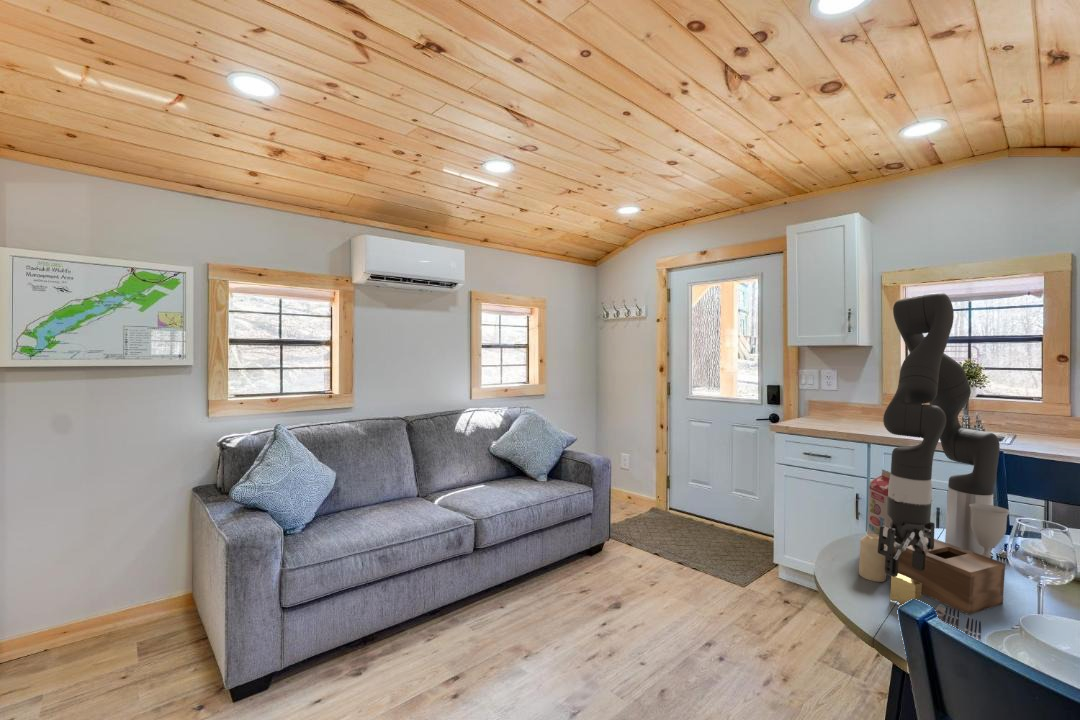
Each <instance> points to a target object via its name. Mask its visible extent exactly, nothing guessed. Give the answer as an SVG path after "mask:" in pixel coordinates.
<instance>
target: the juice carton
mask: <svg viewBox="0 0 1080 720" xmlns="http://www.w3.org/2000/svg"><path fill="white" fill-rule="evenodd" d="M890 475H891V471H888V470H885V469H881V475H879V476H878V477H875V478H873V479H872V480H870V481H869V487H868V488H869V490H868V505H867V507H868V509H867V510H868V511H867V527H866V535H867V534H876V535H877V536H879V532H880V527H881V526H885V527H890V526H891V524H892V519H891V518H890V517H889V516H888V515H887V503H888V486H889V480H890ZM895 542H896V541H895V539H894V543H895Z"/></svg>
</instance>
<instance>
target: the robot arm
mask: <svg viewBox="0 0 1080 720" xmlns="http://www.w3.org/2000/svg"><path fill="white" fill-rule="evenodd" d="M892 314H893V319H894V321H895V322H894V323H895V325H896V327H897V329H898V332H899V333H900V335H901V338H902V341H904V344H905V346H906V347H907V349H908V352H909V353H908V355H907V356H906V357H905V359H904V360H903V362H902V364H901V366H900V369H899V376H898V377H899V378H898V385H897V388H896V391H895V393H894V395H893V397H892V399H891V400H890V402H889V404H888V405H887V407H886V408H885V411H884V414H883V419H882V421H883V426H884V428H885V429H886V430H887V432H888V433H890V434H892V435H895V436H905V437H912V438H922V442H921V443H919V444H916V445H909V446H906V445H905V446H897V447H894V448H893V450H892V452H891V461H890V462H891V463H890V473H891V475H890V480H889V486H888V503H887V515H888V516H889V517H890V518H891V519H892V524H891V526H890V527H885V526H881V527H880V532H879V542H878V553H879V554H882V555H884V556H885V572H886V575H889V576H890V577H891V576H893V577H895V576H898V562H899V560H898V558H899V556H900V554H901V552H903V551H905V550H906V548H907V547H908V546H910V545H912V547H913V549H914V550H913V556H912V567H913V568H915V569H917V570H920V571H922V570H924V569H925V557H926V554H927V553H928V550H929V549H931V550H933V548H934V539H935V523H934V522H932V521H931V514H932V500H933V499H932V497H933V485H932V473H933V463H934V462H933V460H934V455H935V451H936V448H937V446H938V444H939V441H940V444H941V448H942V452H943V453H944V455H945V456H946V457H947V459H948V460H950V461H953V462H956V463H961V464H966V465H970V466H973V468H972V472H970V473H966V474H964V473H963V474H954V475H951V476H950V477H949V479H948V485H947V486H948V487H947V489H948V490H947V504H946V505H947V507H946V521H945V536H944V537H945V538H944V542H945V543H948V544H951V545H954V546H956V547H959V548H962V549H965V550H968V551H971V552H974V553H977V554H979V555H982V554H983V553H984V547H982V546H981V545H979V543H978V541H977V539H976V537H975V535H974V533H973V530H972V527H971V515H972V509H971V508H970V506H969V505H970V504H987V505H993V506H994V491H995V485H996V483H997V482H996V481H997V475H998V474H997V473H998V464H999V457H1000V449H1001V448H1000V446H1001V445H1000V440H999V438H998V436H997V434H995V433H993V432H989V431H984V430H977V429H971V428H964V427H963V426H962V425H961V424H960V420H959V415H960V413H961V412H962V411H963V409H964V408H965V406H966V405H967V403H968V401H969V399H970V397H971V394H972V389H971V387H970V383H969V380H968V377H967V375H966V371H965V369H964V368H963V366H962V365H961V364H960V363H959V362H958V361H956V360H955V359H954V358H952V357H951V356H949V355H948V354H946V353H945V350H946V348H947V344H948V341H949V340H950V339H949V338H950V335H951V332H952V330H953V329H952V328H953V324H954V318H955V317H954V315H955V314H954V307H953V304H952V300H951V299H950V298H949V295H947V293H944V292H932V293H925V294H920V295H916V296H915V295H914V296H911V297H904V298H900V299H898V300H896V301H895V302H894V304H893V307H892ZM924 334H926V335H924ZM925 537H926V538H928V542H926V540H925ZM894 539H895V541H896V542H897V543H898V544H896V543H894ZM884 544H885V545H887V546H886V548H885V549H884ZM894 548H896V550H895V552H894V553H893V549H894ZM991 550H992V548H990V551H989V552H990V553H991Z"/></svg>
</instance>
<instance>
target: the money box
mask: <svg viewBox="0 0 1080 720" xmlns="http://www.w3.org/2000/svg"><path fill="white" fill-rule="evenodd" d="M925 540H926V542H928V538H926V537H925ZM895 543H896V544H898V543H897V542H895ZM895 550H896V548H894V549H893V553H894V552H895ZM913 550H914V549H913V547H912V545H910V546H908V547H907V548H906V550H905V551H903V552H901V554H900V556H899V558H898V560H899V562H898V573H899V574H901V575H903V576H906V577H908V578H910V579H913V580H915V581H917V582H920V583H922V589H921V595H923V596H925V597H928V598H930V599H933V600H934V601H937V602H939V603H942V604H944V605H945V606H948V607H951V608H953V609H955V610H958V611H960V612H962V613H963V614H966V615H971V614H975V613H978V612H981V611H985V610H987V609H991V608H994V607H998V606H1001V605H1003V604H1004V590H1005V577H1006V576H1005V574H1006V572H1005V571H1006V563H1005V562H1002V561H1000V560H996V559H994V558H992V557H991V558H988V557H985V556H982V555H979V554H977V553H974V552H971V551H968V550H965V549H962V548H959V547H956V546H954V545H951V544H948V543H945V541H941V540H940V539H936V538H934V548H933V550H931V549H929V550H928V553H927V554H926V557H925V569H924V570H922V571H920V570H917V569H915V568H913V567H912V556H913Z"/></svg>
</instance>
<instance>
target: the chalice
mask: <svg viewBox="0 0 1080 720" xmlns="http://www.w3.org/2000/svg"><path fill="white" fill-rule="evenodd" d="M969 506H970V508H971V509H972V515H971V527H972V530H973V533H974V535H975V537H976V539H977V541H978V543H979V545H981V546H982V547H984V553H983V554H982V556H985V557H988V558H991V559H992V556H991V552H989V551H990V548H991V549H995V548H996V547H997V546H998V545H999V544H1000V542H1002V539H1003V538H1004V537H1005V534H1006V533H1007V525H1008V524H1007V522H1008V516H1009V514H1010V513H1011V510H1010V509H1007V508H1005V507H1001V506H997V505H994V504H993V505H987V504H970V505H969Z"/></svg>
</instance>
